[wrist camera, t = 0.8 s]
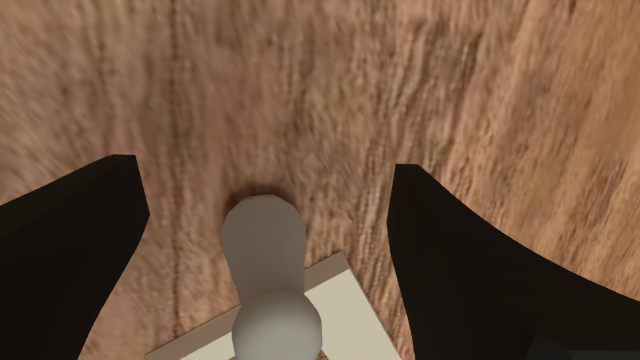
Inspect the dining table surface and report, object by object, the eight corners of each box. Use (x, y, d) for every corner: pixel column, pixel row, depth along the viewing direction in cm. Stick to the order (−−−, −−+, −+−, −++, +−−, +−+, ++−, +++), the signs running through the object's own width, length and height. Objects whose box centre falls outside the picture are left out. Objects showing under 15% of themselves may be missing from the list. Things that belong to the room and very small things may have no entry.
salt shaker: (312, 227, 31) (363, 362, 19) (249, 264, 31) (260, 420, 19) (274, 168, 28) (306, 282, 16) (205, 208, 28) (187, 349, 16)
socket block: (224, 429, 37) (224, 456, 35) (146, 354, 32) (139, 380, 30) (392, 340, 37) (402, 361, 35) (341, 250, 32) (349, 268, 30)
